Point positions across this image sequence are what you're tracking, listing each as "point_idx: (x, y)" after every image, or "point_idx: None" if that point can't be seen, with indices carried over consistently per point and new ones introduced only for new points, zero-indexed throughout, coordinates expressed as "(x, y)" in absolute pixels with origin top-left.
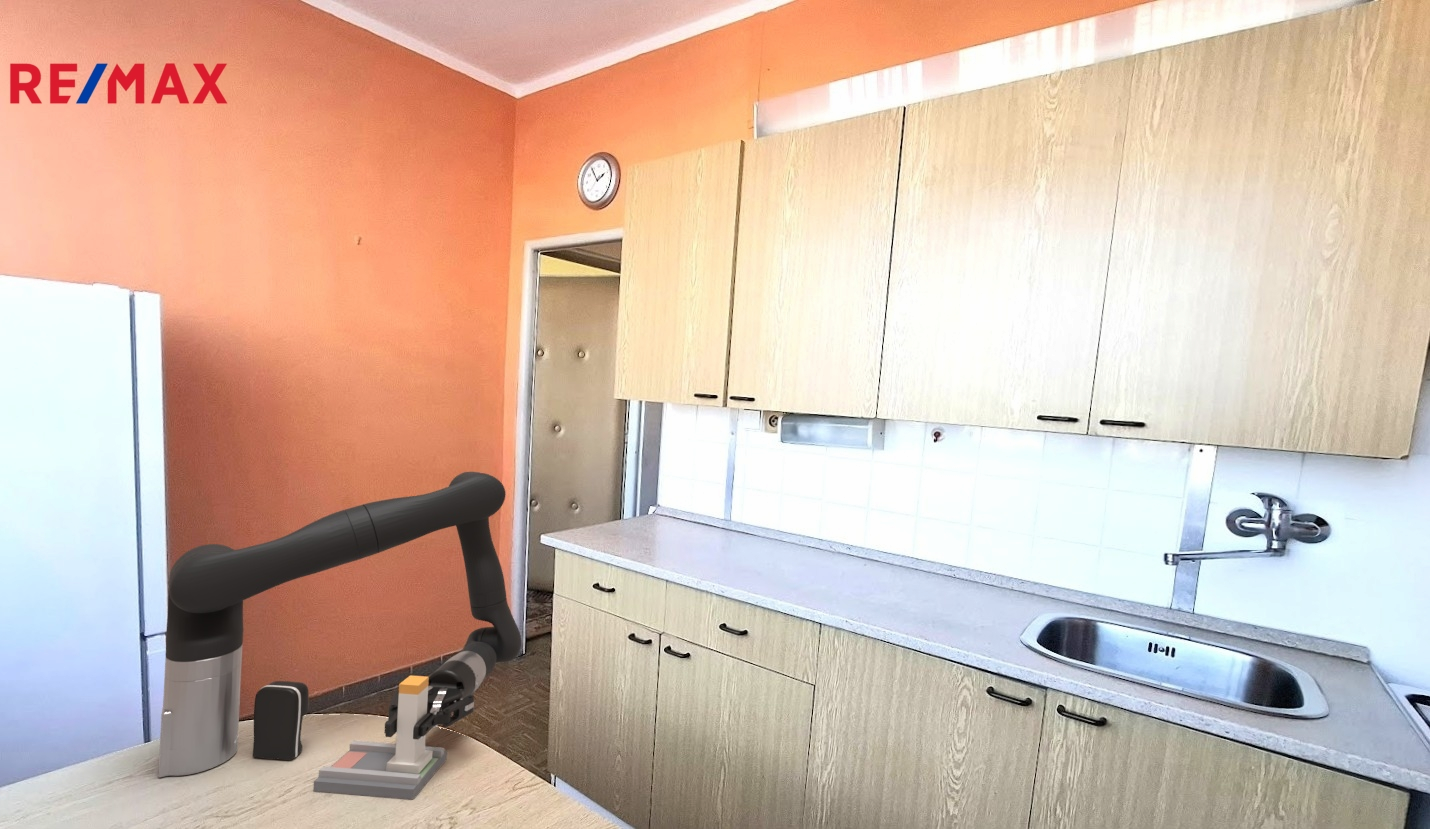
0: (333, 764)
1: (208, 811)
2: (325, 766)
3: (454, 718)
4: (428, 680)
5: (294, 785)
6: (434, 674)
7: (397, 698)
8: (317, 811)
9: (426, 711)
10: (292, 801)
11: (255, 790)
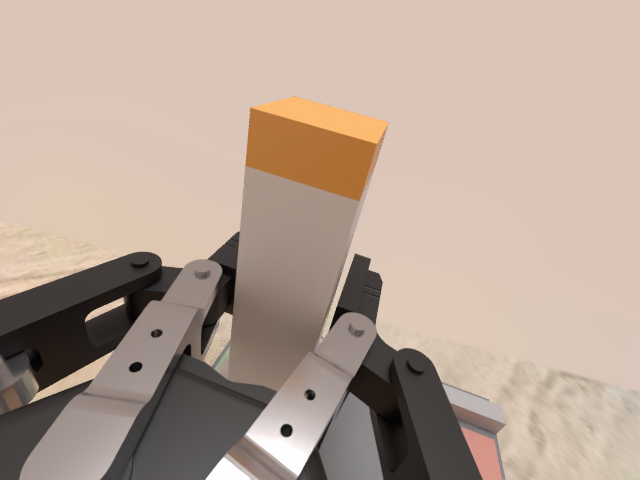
0: (503, 477)
1: (616, 397)
2: (500, 422)
3: (98, 324)
4: (248, 133)
5: (543, 454)
6: None
7: (440, 456)
8: (419, 344)
9: (237, 282)
10: (491, 388)
11: (613, 454)
